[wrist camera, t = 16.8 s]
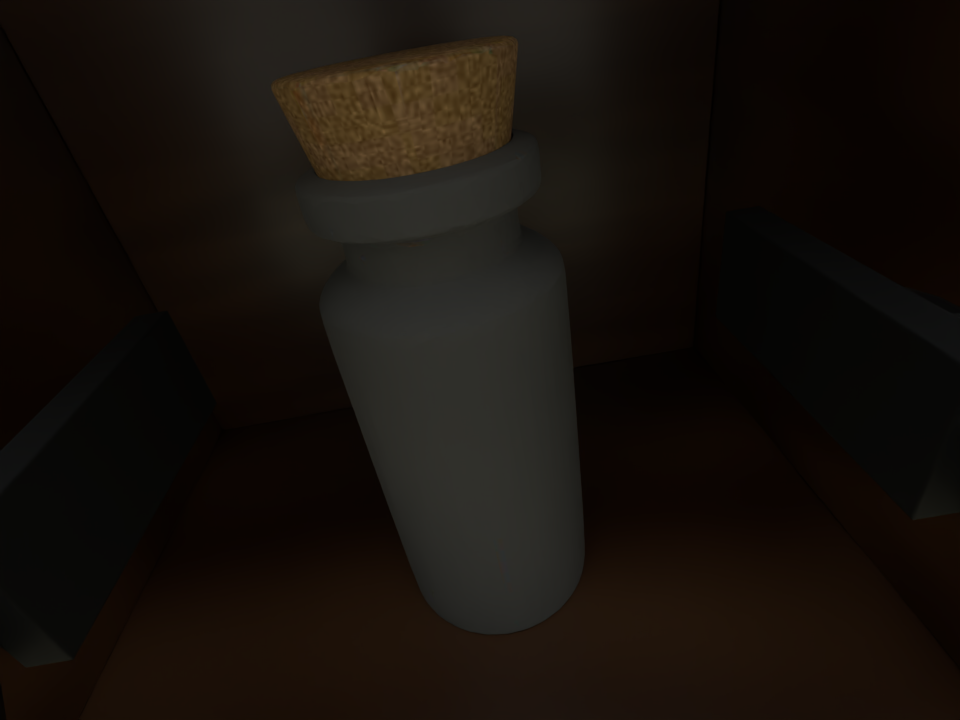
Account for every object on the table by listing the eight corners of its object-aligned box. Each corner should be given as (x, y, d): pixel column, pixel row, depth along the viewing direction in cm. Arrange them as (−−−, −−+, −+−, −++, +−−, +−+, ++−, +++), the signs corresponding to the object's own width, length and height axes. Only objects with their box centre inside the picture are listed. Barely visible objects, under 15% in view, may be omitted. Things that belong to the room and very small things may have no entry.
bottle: (388, 620, 17) (162, 103, 9) (446, 482, 21) (333, 60, 13) (575, 655, 15) (511, 47, 7) (594, 496, 20) (568, 20, 11)
